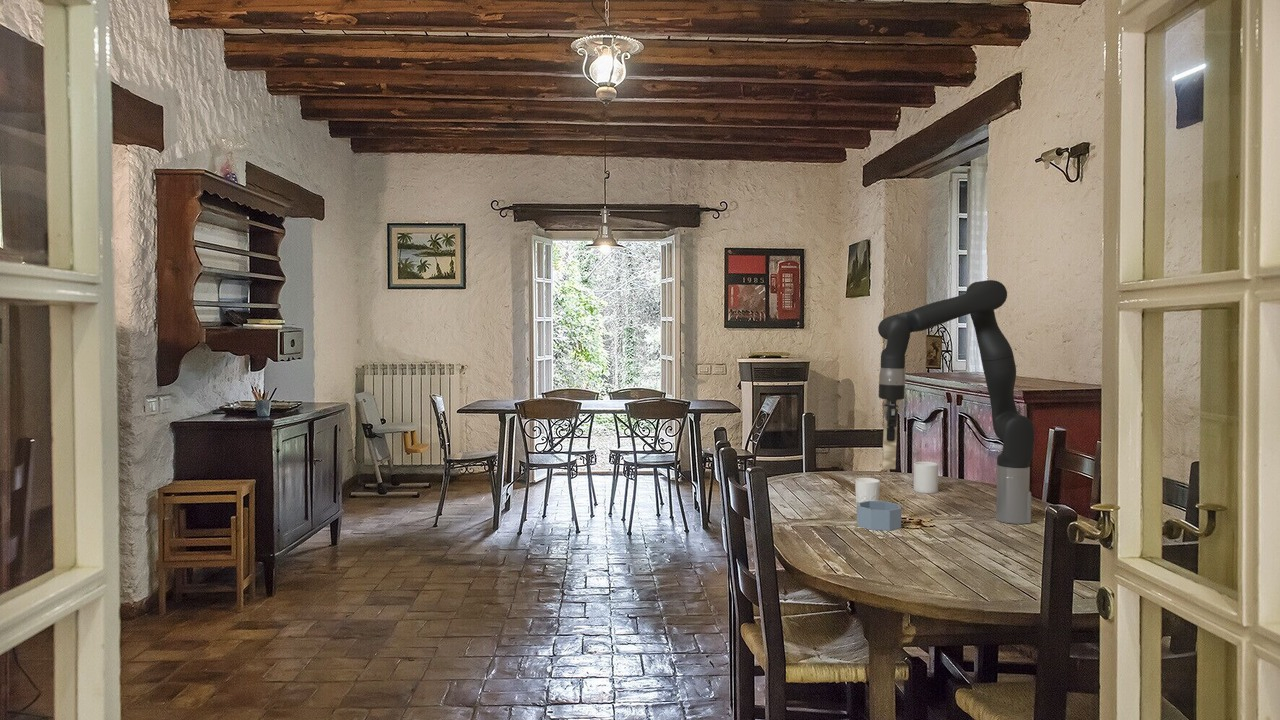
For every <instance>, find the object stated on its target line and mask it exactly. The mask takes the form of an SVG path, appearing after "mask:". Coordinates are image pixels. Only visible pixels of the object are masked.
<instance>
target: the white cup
mask: <svg viewBox="0 0 1280 720" xmlns="http://www.w3.org/2000/svg"><path fill="white" fill-rule="evenodd" d="M880 484H881V480H880V479H877V478H872V477H857V478H855V479H854V490H855V491H854V492H855V503H856V505H857V503H858V502H863V501H880V500H879V499H880V497H879V496H880V487H881V485H880Z"/></svg>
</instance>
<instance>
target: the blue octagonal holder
mask: <svg viewBox="0 0 1280 720" xmlns="http://www.w3.org/2000/svg"><path fill="white" fill-rule="evenodd" d="M856 524H857V527H860V528H863V529H867V530H871V531H883V532H884V531H888V532H891V531H896V530H900V529H902V507H901V505H900V504H898V503H896V502H895V503H894V502H891V501H886V500H879V501H863V502H858V503H857V504H856Z"/></svg>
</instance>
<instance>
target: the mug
mask: <svg viewBox="0 0 1280 720" xmlns="http://www.w3.org/2000/svg"><path fill="white" fill-rule="evenodd" d="M938 488H939V464H938V462H937V463H936V462H933V461H916V462H914V463H913V491H914V492H915V493H918V494H925V495H932V494H934V495H935V494H937V493H938V491H939V489H938Z"/></svg>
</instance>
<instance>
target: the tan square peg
mask: <svg viewBox="0 0 1280 720" xmlns="http://www.w3.org/2000/svg"><path fill="white" fill-rule="evenodd" d="M890 423H894V421H892V420H890ZM886 425H887V420H885V418H884V417H883V434H882V435H883V437H882V458H881V459H882V461H881V462H882V463H881V464H882V465H881V466H882V469H883V470H885V469H886V470H896V467H897V466H896V465H897V464H896V462H897V461H896V460H897V440H898V438H897V436H898V425H897V426H896V428H894V429H895V439H894V441H888V440H887V427H886Z"/></svg>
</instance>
